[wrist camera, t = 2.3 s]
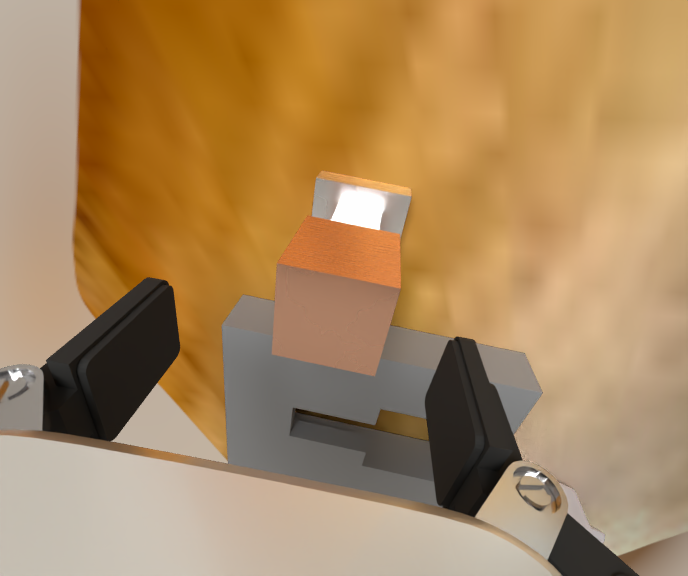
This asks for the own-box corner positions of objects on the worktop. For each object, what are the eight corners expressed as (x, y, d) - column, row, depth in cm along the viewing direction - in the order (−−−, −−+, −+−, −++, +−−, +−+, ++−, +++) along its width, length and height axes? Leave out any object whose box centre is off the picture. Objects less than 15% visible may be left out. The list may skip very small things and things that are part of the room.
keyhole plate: (524, 353, 24) (542, 392, 21) (450, 477, 32) (455, 517, 29) (243, 294, 24) (221, 324, 21) (243, 431, 33) (228, 466, 30)
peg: (410, 187, 19) (421, 278, 11) (389, 266, 22) (384, 388, 13) (321, 170, 19) (262, 245, 11) (312, 250, 22) (258, 361, 13)
